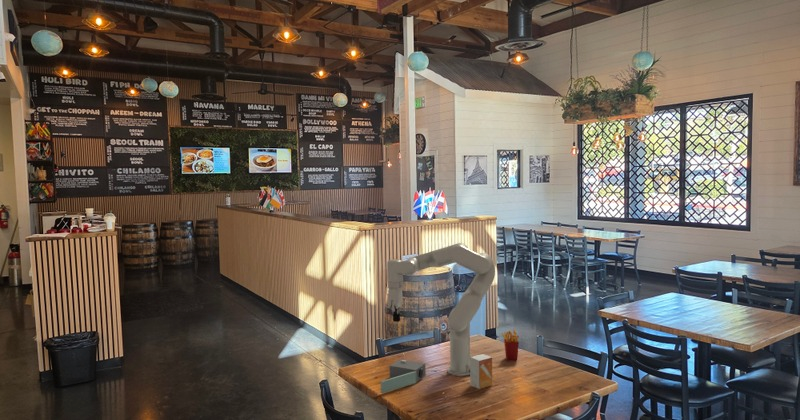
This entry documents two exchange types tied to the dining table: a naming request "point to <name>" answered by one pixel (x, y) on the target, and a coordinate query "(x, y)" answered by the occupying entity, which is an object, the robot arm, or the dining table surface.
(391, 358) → the dining table surface
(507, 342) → the french fries
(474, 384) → the small box
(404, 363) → the box
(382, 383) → the door
